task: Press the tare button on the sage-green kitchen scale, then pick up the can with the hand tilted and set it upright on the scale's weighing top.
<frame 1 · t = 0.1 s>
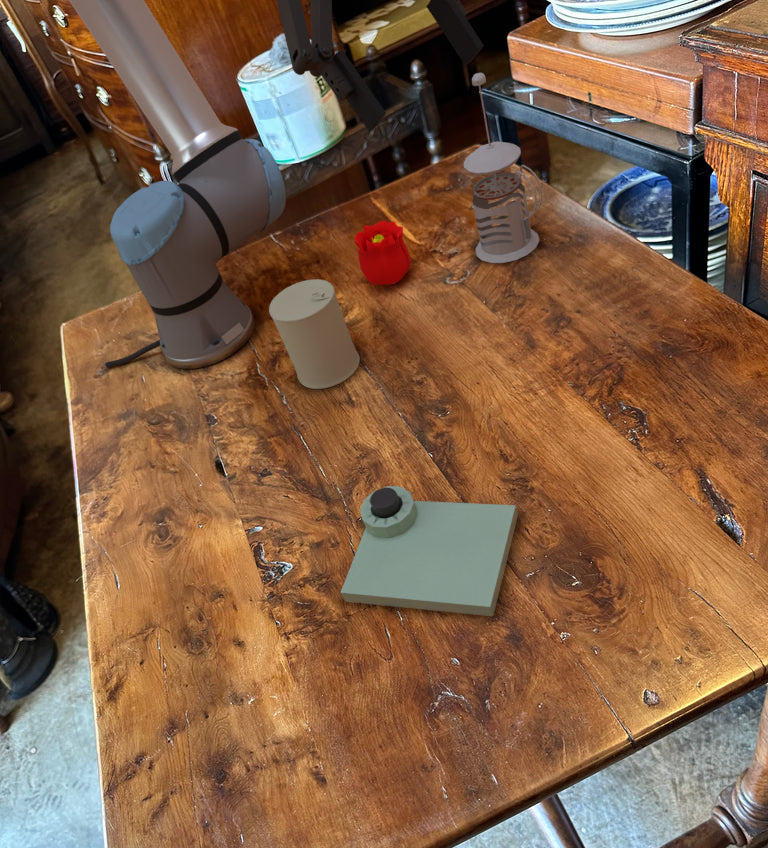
hand: (427, 88, 75), 36 cm above the table, tool tilted 35°, fingers open, 13 cm apart
french press: (512, 246, 120), on the table
scale: (432, 558, 84), on the table
can: (329, 369, 112), on the table
flower: (390, 281, 123), on the table
tare button: (385, 502, 85), point 4 cm above the table, slide at 0.1 cm
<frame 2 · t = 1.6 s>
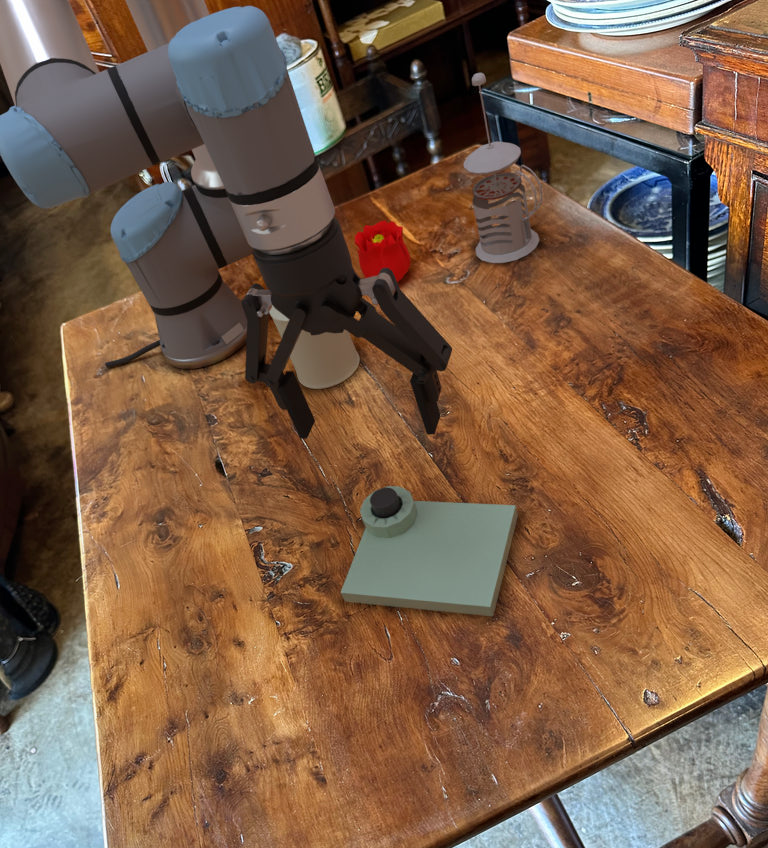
hand: (369, 427, 78), 14 cm above the table, tool pointing down, fingers open, 13 cm apart
nothing on the table moved.
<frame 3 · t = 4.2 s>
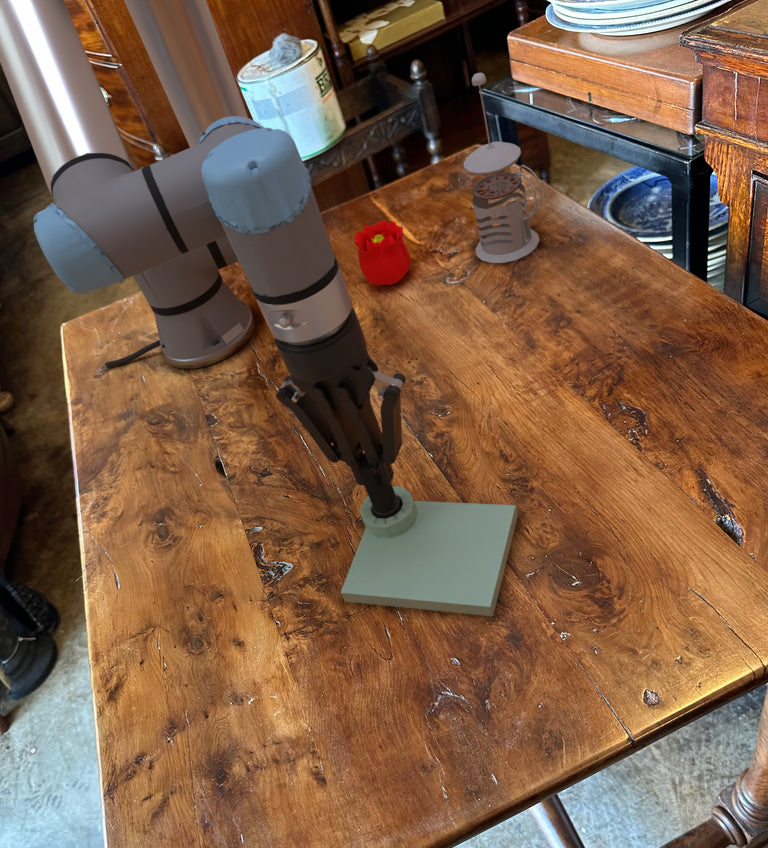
hand: (385, 502, 85), 4 cm above the table, tool pointing down, fingers closed
tare button: (387, 508, 86), point 3 cm above the table, slide at -0.8 cm, touching gripper
everything else where it was.
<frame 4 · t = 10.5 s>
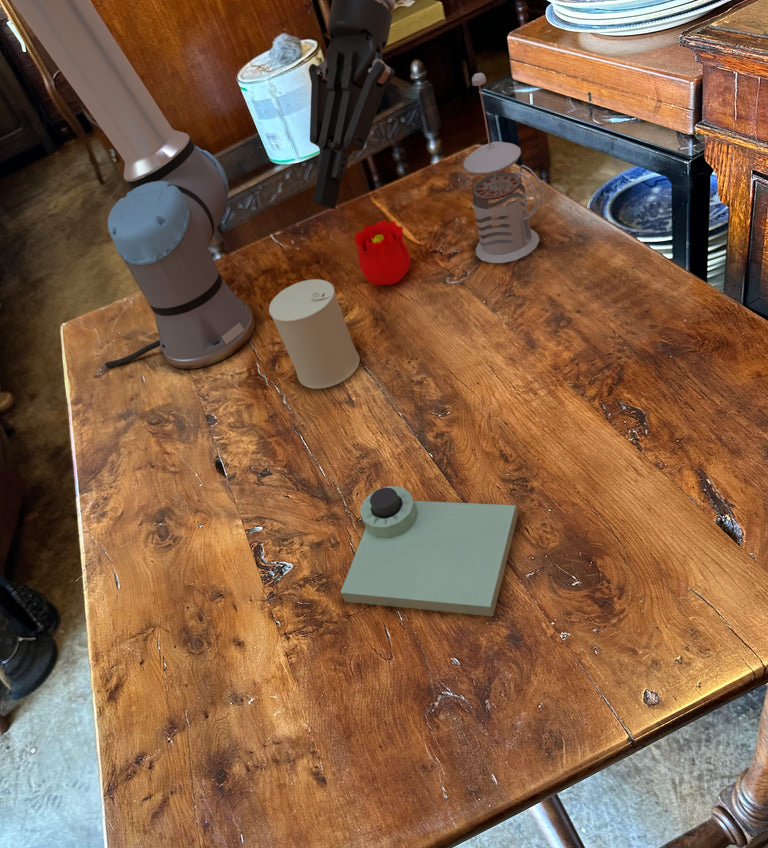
hand: (323, 205, 101), 20 cm above the table, tool tilted 45°, fingers closed
tare button: (385, 502, 85), point 4 cm above the table, slide at 0.1 cm
everything else where it was.
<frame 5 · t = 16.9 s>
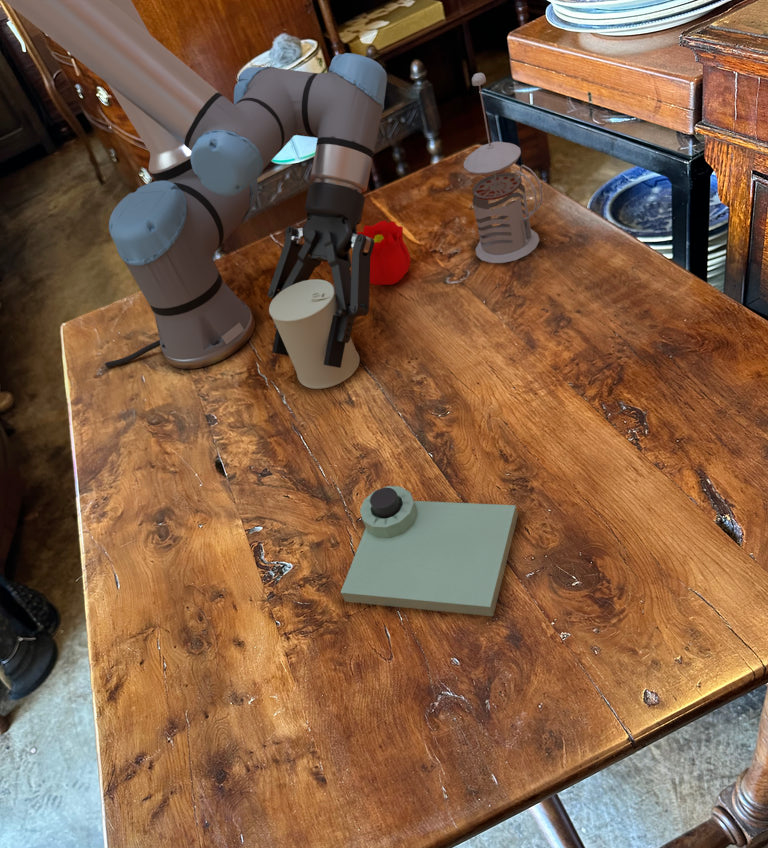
hand: (305, 359, 107), 4 cm above the table, tool tilted 45°, fingers closed on can, 9 cm apart
can: (329, 368, 112), on the table, touching gripper
everything else where it was.
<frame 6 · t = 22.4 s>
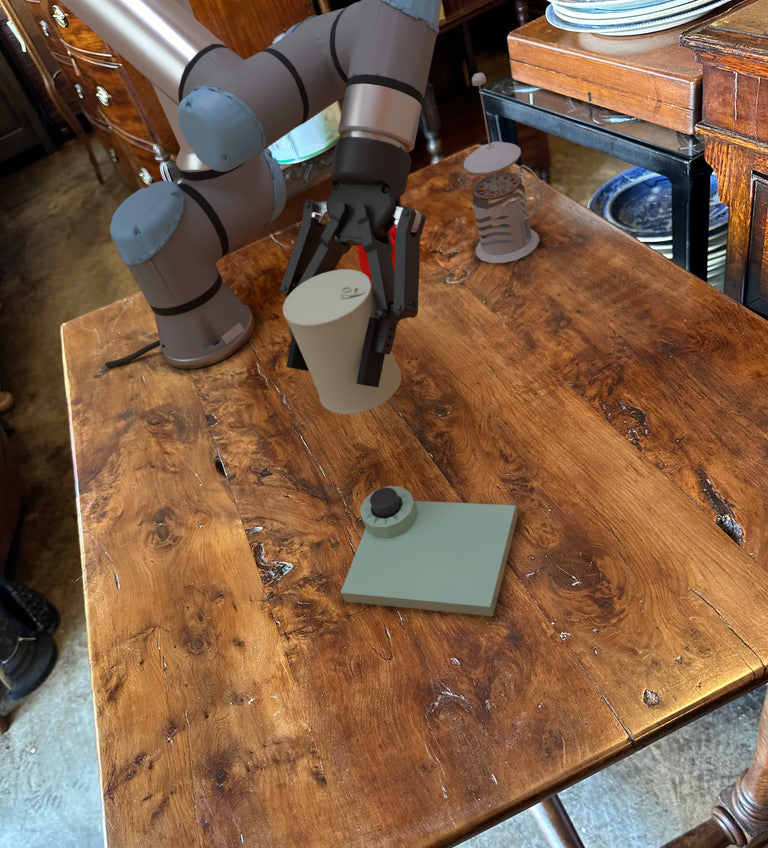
hand: (331, 376, 81), 17 cm above the table, tool tilted 45°, fingers closed on can, 9 cm apart
can: (360, 387, 85), point 13 cm above the table, touching gripper
everything else where it was.
when the fingers open (6 cm above the table, at t = 28.2 s): can stays where it is, resting on scale.
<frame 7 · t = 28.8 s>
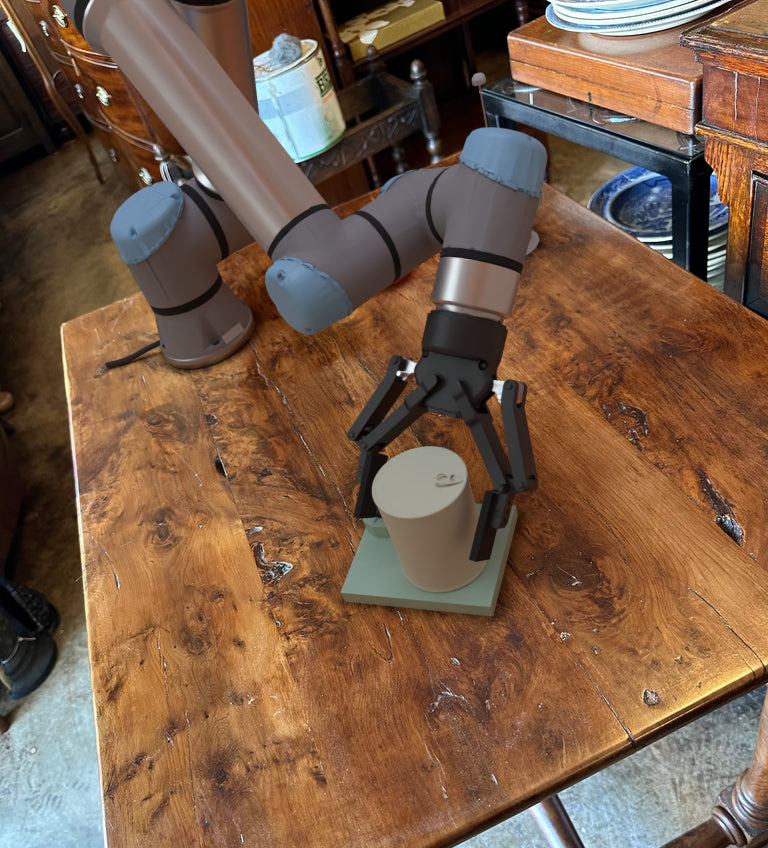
hand: (418, 537, 76), 8 cm above the table, tool tilted 45°, fingers open, 13 cm apart
can: (445, 557, 81), point 2 cm above the table, touching scale
everything else where it was.
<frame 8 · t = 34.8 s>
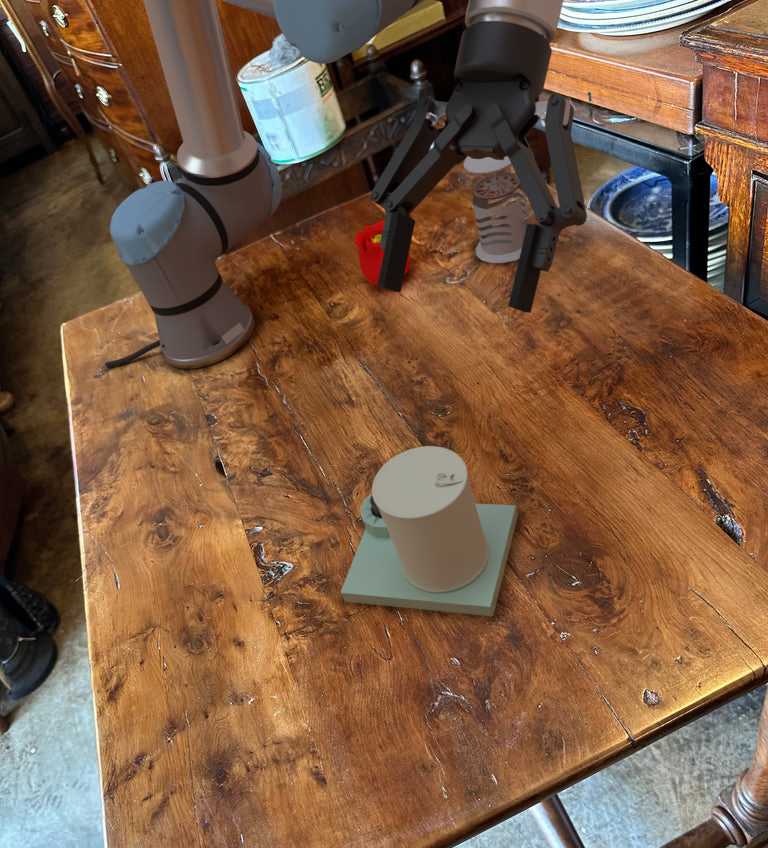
hand: (450, 299, 69), 26 cm above the table, tool tilted 45°, fingers open, 13 cm apart
nothing on the table moved.
at the end: tare button pushed in 1.0 cm at the most during the clip, back to where it started at the end; can inside the target area on the scale (0.8 cm from its centre), point 1.5 cm above the scale's base; can touching scale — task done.
